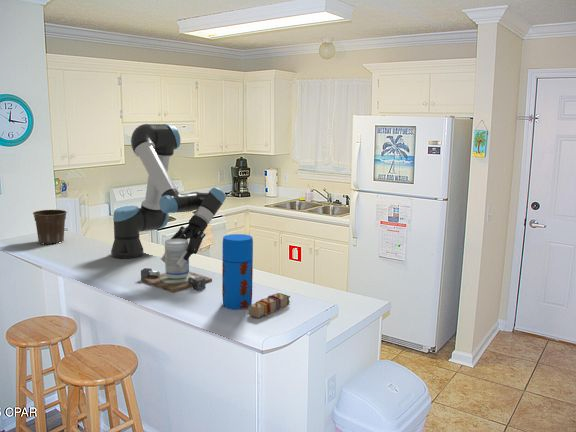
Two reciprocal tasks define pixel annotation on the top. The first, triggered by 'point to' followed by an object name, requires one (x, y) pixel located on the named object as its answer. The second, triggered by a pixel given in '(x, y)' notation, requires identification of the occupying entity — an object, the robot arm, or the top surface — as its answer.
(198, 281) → the shaft
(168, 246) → the supplement tub
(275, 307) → the skewer
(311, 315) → the top surface
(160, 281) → the board
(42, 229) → the plant pot
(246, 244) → the thermos
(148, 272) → the shaft
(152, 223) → the robot arm
